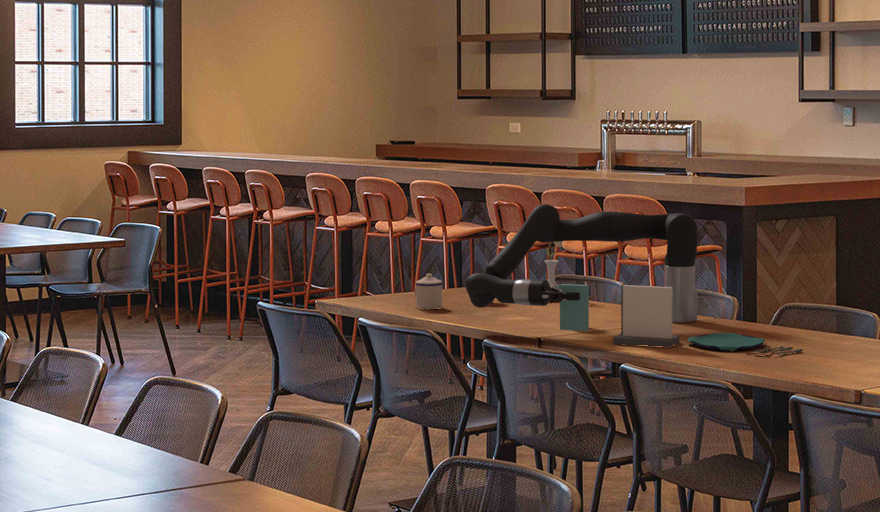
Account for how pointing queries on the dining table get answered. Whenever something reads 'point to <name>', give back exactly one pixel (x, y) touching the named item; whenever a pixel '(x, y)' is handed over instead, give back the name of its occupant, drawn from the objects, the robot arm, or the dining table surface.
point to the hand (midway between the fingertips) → (584, 294)
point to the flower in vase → (552, 266)
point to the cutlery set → (733, 342)
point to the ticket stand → (646, 316)
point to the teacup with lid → (428, 292)
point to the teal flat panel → (575, 309)
